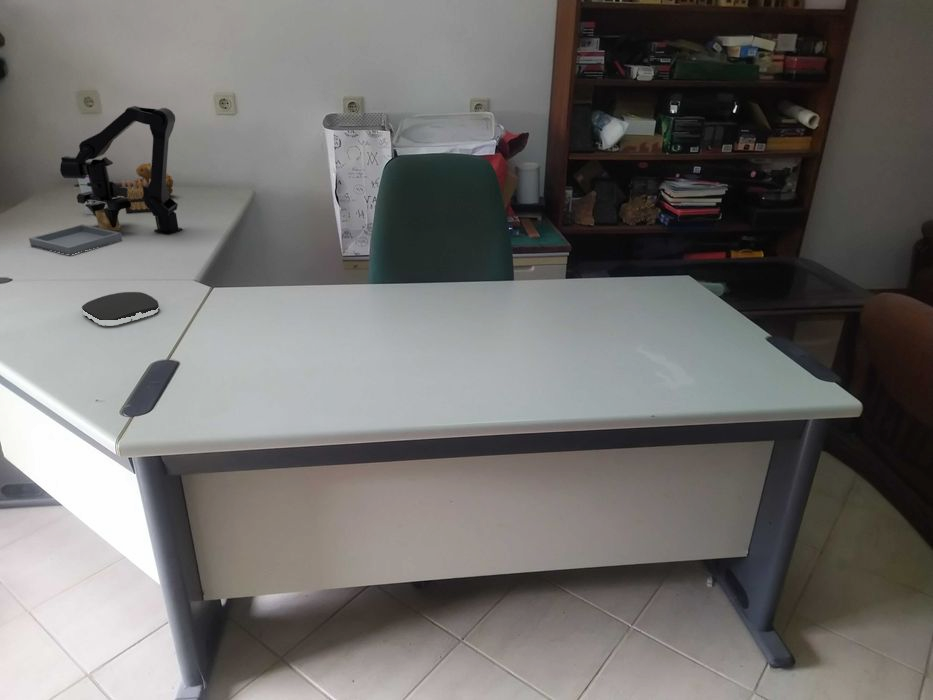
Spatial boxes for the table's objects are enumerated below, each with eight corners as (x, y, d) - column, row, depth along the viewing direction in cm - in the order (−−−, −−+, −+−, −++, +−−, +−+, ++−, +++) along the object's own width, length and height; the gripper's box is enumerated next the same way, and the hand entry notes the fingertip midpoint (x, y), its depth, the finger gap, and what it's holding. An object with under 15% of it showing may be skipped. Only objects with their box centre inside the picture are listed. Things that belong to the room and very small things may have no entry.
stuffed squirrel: (139, 195, 262) (132, 161, 256) (177, 193, 266) (171, 160, 260) (136, 201, 254) (129, 166, 248) (175, 199, 258) (170, 165, 252)
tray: (122, 240, 211) (120, 232, 210) (70, 255, 196) (68, 247, 195) (83, 231, 217) (81, 224, 216) (30, 246, 203) (28, 238, 201)
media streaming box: (137, 297, 171) (134, 286, 170) (165, 313, 163) (163, 302, 162) (78, 313, 161) (75, 302, 159) (105, 331, 153) (103, 319, 151)
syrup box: (102, 215, 235) (93, 174, 229) (85, 214, 235) (76, 173, 229) (110, 210, 240) (101, 170, 234) (94, 210, 240) (85, 170, 234)
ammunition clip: (126, 213, 238) (119, 180, 233) (126, 212, 240) (119, 179, 234) (158, 211, 242) (152, 178, 237) (158, 210, 243) (152, 177, 238)
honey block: (120, 229, 221) (116, 210, 218) (108, 232, 218) (104, 213, 215) (111, 227, 223) (107, 208, 220) (99, 230, 219) (95, 211, 216)
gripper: (140, 178, 216) (149, 224, 223) (101, 171, 223) (110, 216, 230) (111, 184, 207) (121, 232, 214) (70, 177, 214) (81, 224, 221)
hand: (109, 226), depth 220 cm, fingers closed on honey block, 4 cm apart
